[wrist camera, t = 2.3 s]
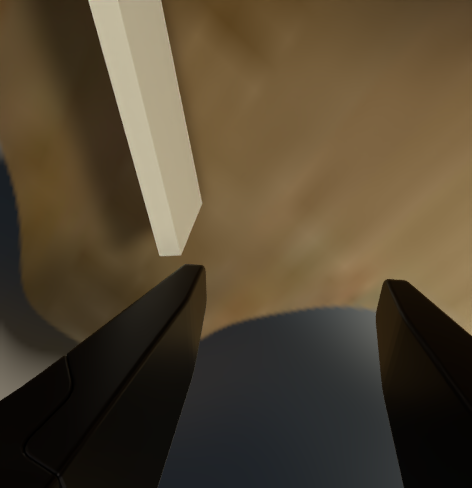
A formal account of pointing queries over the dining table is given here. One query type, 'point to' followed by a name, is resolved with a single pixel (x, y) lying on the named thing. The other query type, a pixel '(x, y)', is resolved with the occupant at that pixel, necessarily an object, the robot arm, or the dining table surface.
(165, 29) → the white flat slab piece
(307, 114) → the dining table surface
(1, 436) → the robot arm
